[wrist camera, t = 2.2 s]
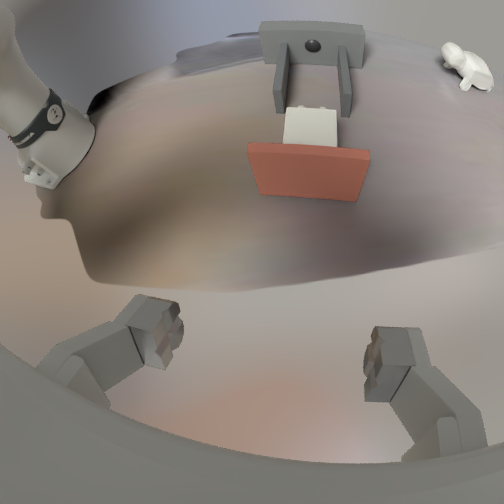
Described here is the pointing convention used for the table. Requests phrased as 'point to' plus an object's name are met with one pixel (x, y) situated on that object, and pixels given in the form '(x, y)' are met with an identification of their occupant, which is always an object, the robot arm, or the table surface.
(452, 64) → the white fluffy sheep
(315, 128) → the plug
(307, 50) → the socket housing
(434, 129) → the table surface
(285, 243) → the table surface
